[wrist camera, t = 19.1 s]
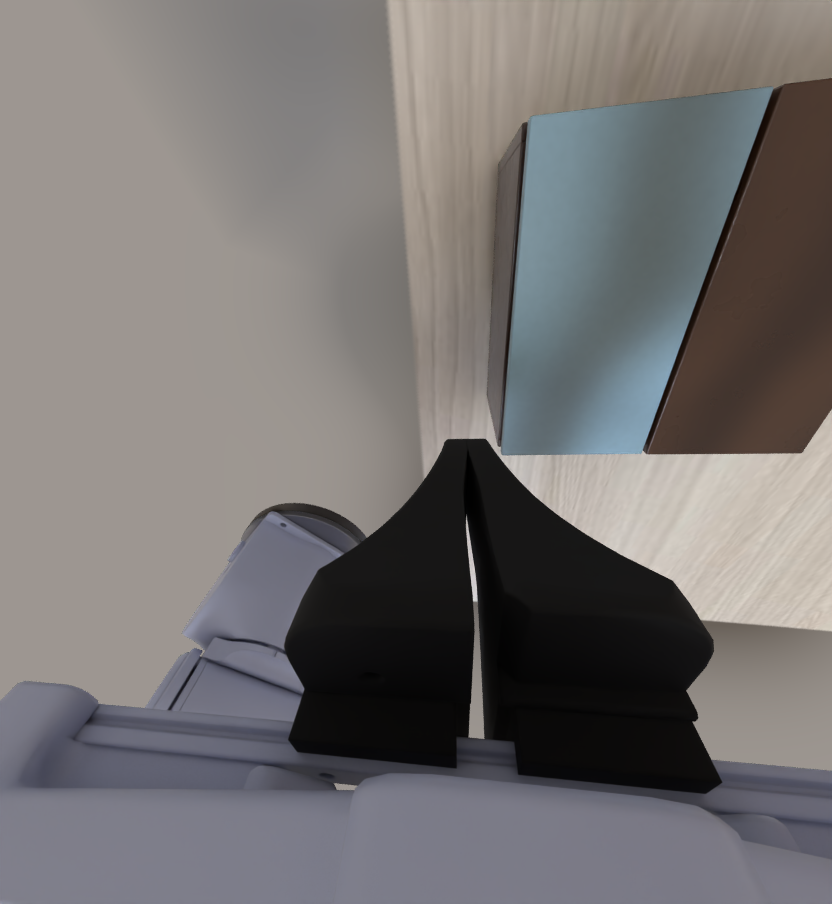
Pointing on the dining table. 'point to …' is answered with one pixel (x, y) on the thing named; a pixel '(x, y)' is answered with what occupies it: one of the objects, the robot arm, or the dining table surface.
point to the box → (731, 296)
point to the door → (615, 262)
